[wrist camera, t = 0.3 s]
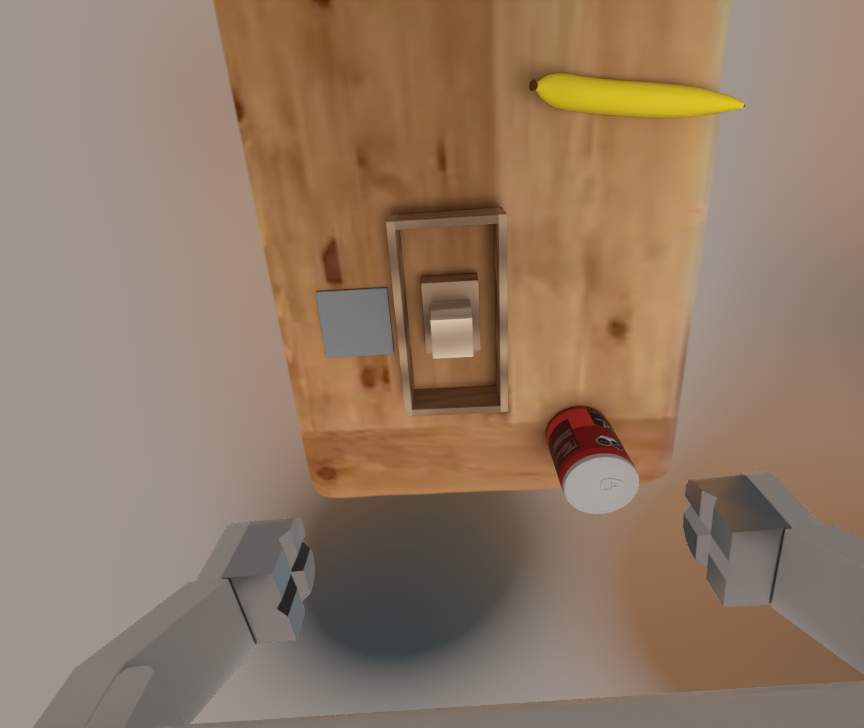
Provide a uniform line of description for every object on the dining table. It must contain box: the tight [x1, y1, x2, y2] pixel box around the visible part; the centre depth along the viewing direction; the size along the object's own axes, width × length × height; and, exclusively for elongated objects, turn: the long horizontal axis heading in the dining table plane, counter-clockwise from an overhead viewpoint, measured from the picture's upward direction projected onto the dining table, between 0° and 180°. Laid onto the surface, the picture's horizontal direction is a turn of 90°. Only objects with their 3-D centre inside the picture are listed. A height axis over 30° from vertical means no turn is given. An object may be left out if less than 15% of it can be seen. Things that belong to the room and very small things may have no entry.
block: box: [430, 299, 474, 359], centre depth 52 cm, size 4×4×6 cm
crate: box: [386, 207, 508, 416], centre depth 55 cm, size 22×12×5 cm, turn 4°
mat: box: [316, 287, 394, 358], centre depth 58 cm, size 8×8×1 cm
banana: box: [530, 73, 745, 118], centre depth 45 cm, size 3×19×6 cm, turn 85°
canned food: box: [546, 407, 639, 514], centre depth 58 cm, size 8×8×11 cm
